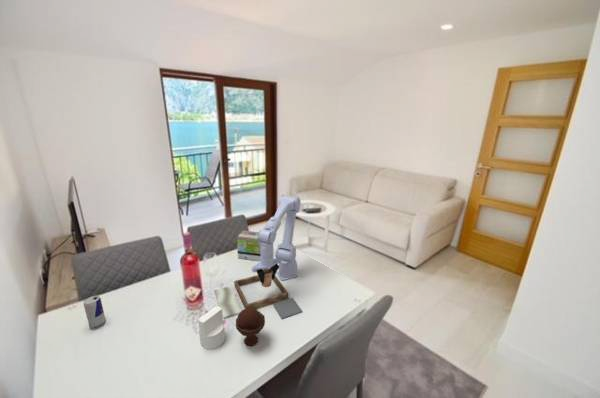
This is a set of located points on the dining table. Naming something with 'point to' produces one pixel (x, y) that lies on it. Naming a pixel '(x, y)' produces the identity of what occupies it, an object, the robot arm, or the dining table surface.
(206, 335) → the cylinder with rectangular tab
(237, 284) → the frame
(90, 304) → the energy drink
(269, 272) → the terracotta pot
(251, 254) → the tea box
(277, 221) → the robot arm
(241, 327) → the ice cream bowl
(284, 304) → the mat
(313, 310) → the dining table surface
